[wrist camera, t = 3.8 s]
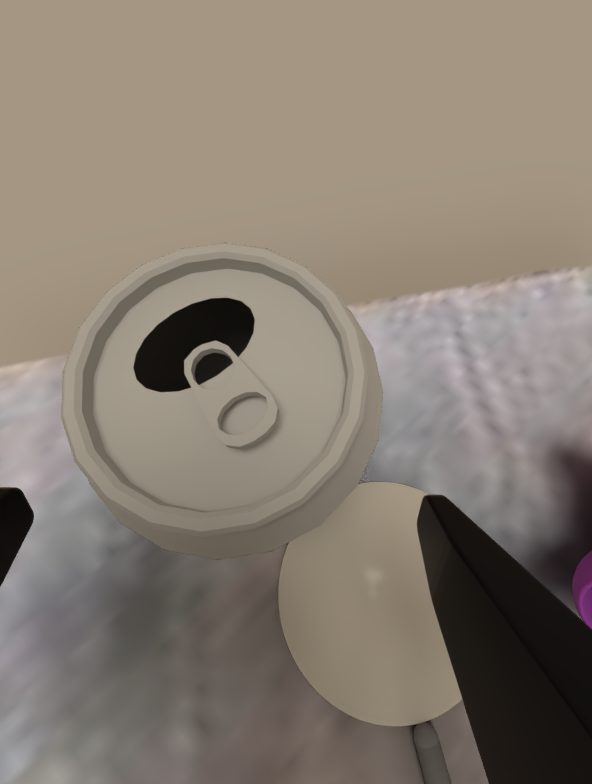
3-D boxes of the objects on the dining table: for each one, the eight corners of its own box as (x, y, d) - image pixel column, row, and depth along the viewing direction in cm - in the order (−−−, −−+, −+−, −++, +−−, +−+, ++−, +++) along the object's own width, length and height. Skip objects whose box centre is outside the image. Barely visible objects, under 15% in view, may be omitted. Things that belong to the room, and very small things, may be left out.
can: (284, 352, 20) (263, 159, 8) (366, 461, 18) (486, 410, 7) (170, 428, 19) (-42, 327, 7) (246, 552, 17) (132, 685, 5)
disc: (526, 686, 15) (532, 691, 15) (306, 748, 15) (306, 755, 14) (448, 461, 18) (452, 461, 18) (259, 507, 17) (258, 508, 17)
